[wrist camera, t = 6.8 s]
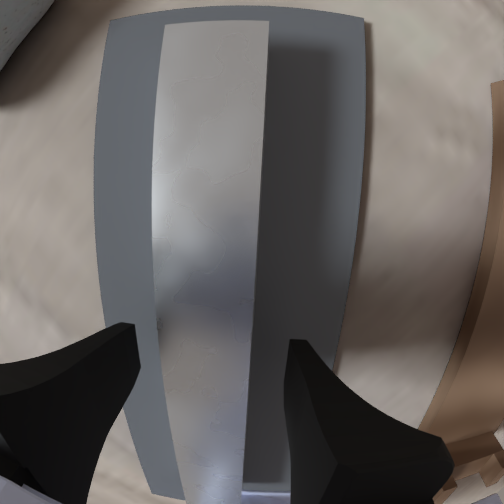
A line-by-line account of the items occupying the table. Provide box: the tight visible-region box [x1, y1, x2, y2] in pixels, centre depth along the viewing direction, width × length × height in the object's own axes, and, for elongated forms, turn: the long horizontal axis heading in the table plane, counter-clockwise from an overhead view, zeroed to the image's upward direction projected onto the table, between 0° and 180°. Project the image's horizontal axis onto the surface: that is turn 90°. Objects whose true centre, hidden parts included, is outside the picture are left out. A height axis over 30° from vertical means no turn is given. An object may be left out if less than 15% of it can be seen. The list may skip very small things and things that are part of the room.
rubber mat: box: [94, 6, 366, 500], centre depth 13 cm, size 28×10×1 cm, turn 177°
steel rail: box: [152, 20, 269, 504], centre depth 11 cm, size 22×3×2 cm, turn 177°
